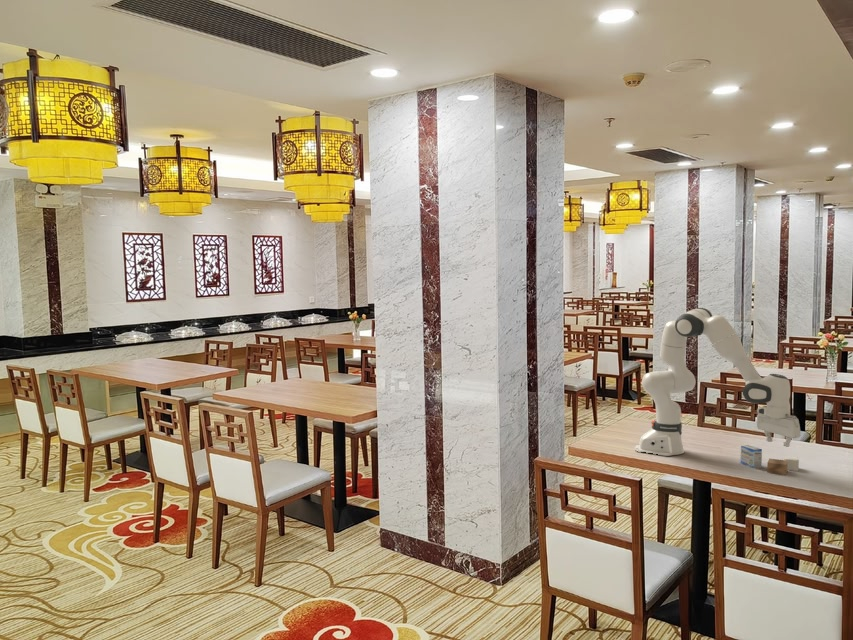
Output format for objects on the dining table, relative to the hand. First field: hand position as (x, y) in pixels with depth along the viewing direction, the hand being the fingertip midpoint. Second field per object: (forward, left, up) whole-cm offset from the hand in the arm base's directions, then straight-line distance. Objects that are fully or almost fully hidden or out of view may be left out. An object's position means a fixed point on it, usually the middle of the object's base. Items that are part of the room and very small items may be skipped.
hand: (777, 443), depth 285 cm
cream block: (+6, +7, -13) cm, 16 cm away
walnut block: (0, 0, -13) cm, 13 cm away
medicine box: (-10, +7, -13) cm, 17 cm away
